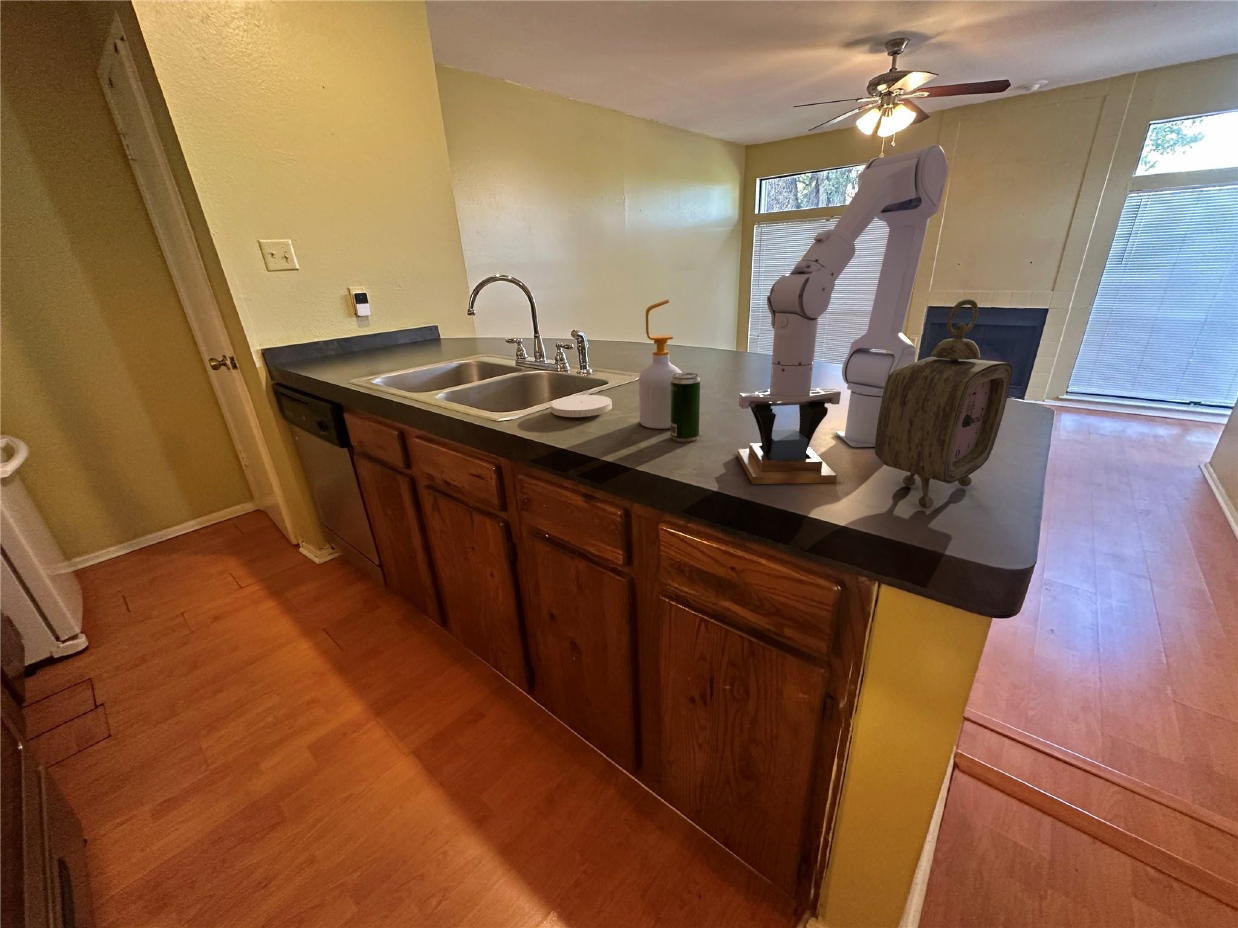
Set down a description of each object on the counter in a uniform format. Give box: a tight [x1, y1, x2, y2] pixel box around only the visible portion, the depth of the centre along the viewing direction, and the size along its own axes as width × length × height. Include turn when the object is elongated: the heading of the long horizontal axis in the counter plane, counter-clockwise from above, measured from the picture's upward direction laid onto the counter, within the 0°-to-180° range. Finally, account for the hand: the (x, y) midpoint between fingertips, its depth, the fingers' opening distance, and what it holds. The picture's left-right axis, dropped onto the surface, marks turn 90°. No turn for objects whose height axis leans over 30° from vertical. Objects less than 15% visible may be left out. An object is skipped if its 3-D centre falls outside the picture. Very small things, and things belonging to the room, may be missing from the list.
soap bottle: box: [638, 298, 683, 430], centre depth 96 cm, size 9×9×25 cm
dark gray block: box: [763, 428, 808, 460], centre depth 74 cm, size 5×5×4 cm
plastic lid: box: [550, 394, 613, 418], centre depth 110 cm, size 14×14×2 cm
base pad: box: [736, 442, 838, 485], centre depth 75 cm, size 12×12×3 cm
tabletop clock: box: [874, 298, 1013, 509], centre depth 61 cm, size 14×9×25 cm, turn 124°
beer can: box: [670, 372, 701, 443], centre depth 89 cm, size 5×5×12 cm
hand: (784, 450), depth 74 cm, fingers closed on dark gray block, 5 cm apart
